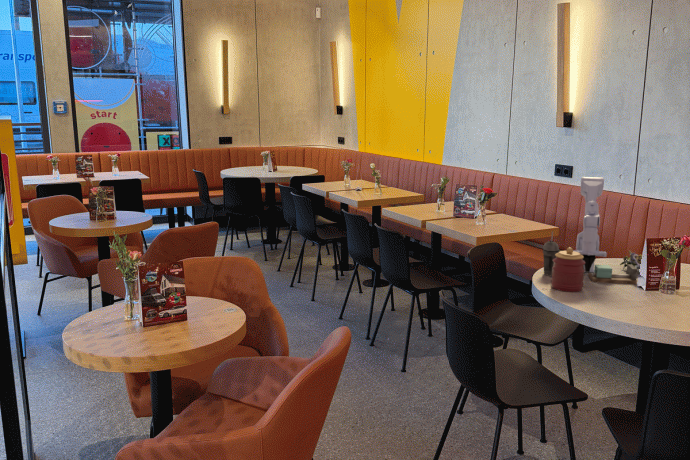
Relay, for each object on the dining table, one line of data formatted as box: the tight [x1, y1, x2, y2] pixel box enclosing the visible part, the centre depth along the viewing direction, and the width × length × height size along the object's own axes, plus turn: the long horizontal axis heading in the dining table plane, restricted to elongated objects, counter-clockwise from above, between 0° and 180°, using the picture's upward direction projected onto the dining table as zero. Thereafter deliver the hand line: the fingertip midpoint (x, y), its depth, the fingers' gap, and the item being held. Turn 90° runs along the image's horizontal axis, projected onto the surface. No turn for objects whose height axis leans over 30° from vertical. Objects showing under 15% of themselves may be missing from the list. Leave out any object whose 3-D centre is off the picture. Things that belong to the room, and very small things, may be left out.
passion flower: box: [619, 250, 643, 274], centre depth 280 cm, size 11×11×12 cm
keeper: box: [593, 264, 613, 278], centre depth 266 cm, size 6×6×4 cm
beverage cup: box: [542, 231, 560, 277], centre depth 273 cm, size 7×7×20 cm
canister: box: [550, 246, 585, 293], centre depth 253 cm, size 13×13×18 cm
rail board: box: [587, 263, 638, 285], centre depth 266 cm, size 18×10×6 cm, turn 80°
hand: (587, 271), depth 267 cm, fingers closed
